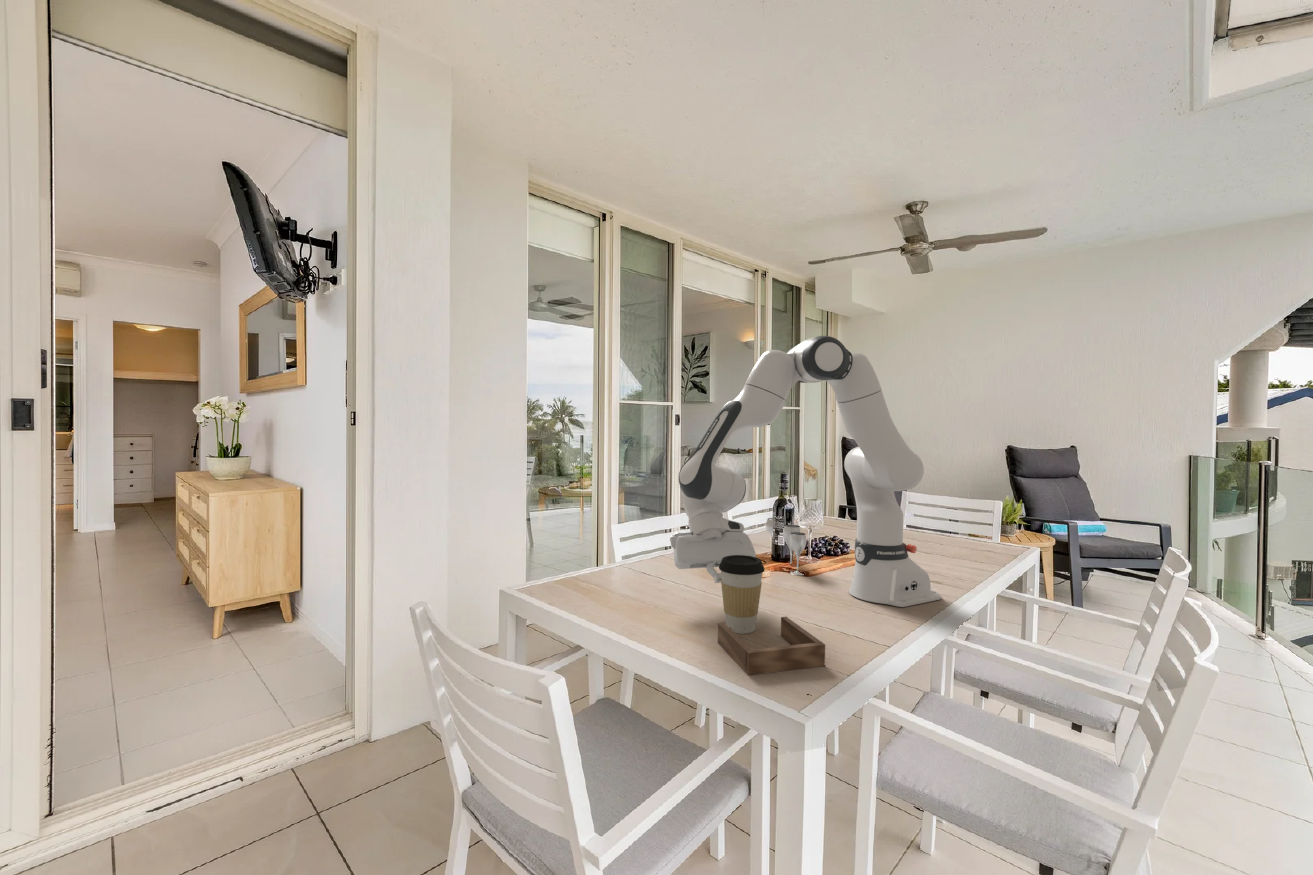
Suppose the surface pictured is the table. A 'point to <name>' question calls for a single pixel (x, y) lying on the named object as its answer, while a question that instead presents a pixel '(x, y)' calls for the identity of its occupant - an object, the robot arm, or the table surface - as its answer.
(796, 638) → the walnut caddy
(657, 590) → the table surface
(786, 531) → the goblet set
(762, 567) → the coffee cup
